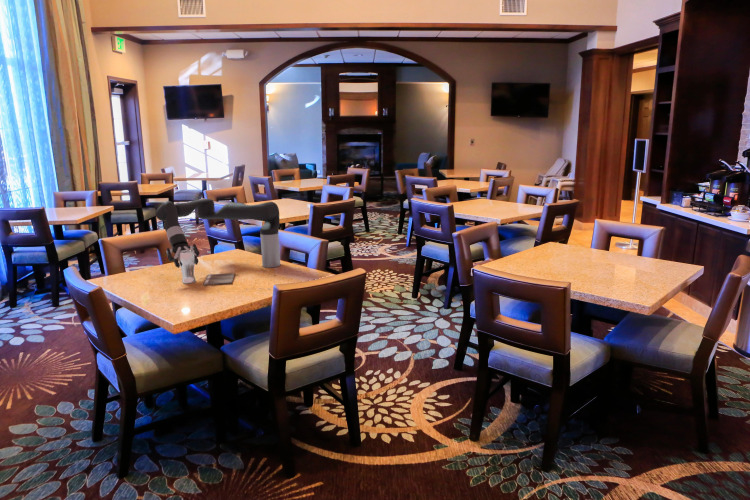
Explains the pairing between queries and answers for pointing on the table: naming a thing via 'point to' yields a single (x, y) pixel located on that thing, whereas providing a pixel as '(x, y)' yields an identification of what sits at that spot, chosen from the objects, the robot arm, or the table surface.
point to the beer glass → (187, 266)
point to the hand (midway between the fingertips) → (187, 265)
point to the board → (219, 279)
